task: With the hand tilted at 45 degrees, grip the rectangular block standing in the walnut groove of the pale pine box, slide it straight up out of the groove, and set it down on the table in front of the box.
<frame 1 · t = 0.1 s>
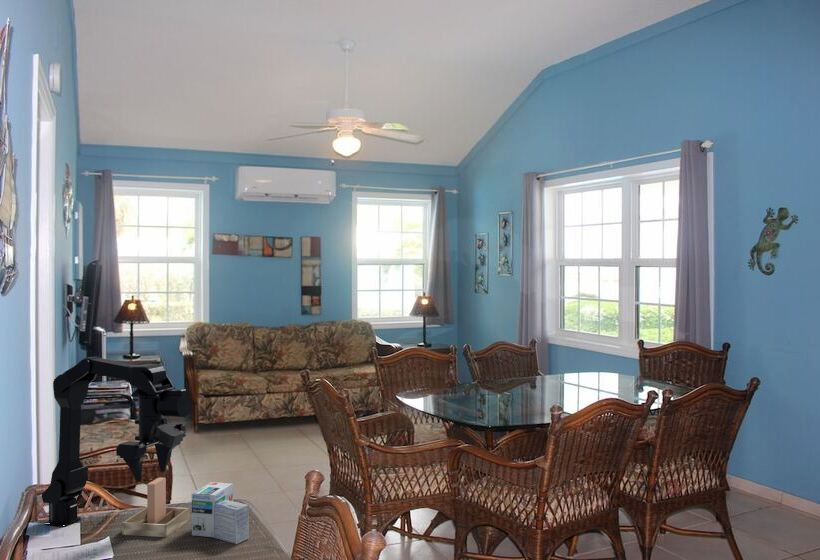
hand: (151, 476, 179), 15 cm above the table, tool pointing down, fingers open, 9 cm apart
slot box: (156, 526, 184), on the table
medicine box: (231, 539, 176), on the table
light bulb box: (213, 530, 183), on the table
rectangular block: (156, 526, 185), resting in slot box
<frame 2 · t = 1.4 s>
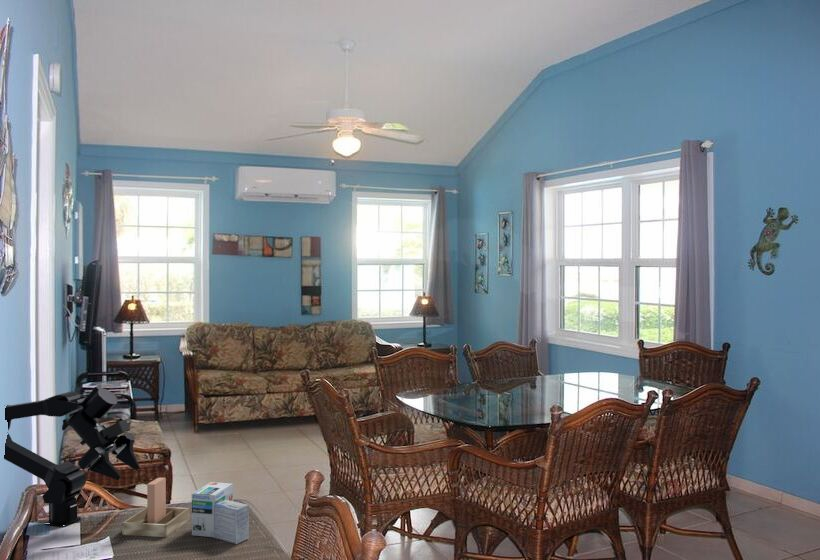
hand: (129, 473, 185), 14 cm above the table, tool tilted 45°, fingers open, 9 cm apart
nothing on the table moved.
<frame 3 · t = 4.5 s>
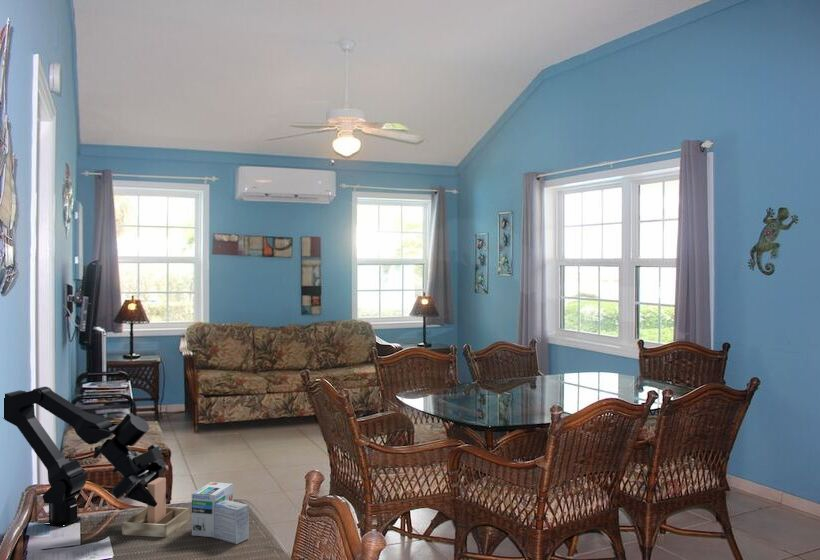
hand: (161, 501, 184), 7 cm above the table, tool tilted 45°, fingers closed on rectangular block, 6 cm apart
rectangular block: (156, 526, 184), resting in slot box, touching gripper
everything else where it was.
when the fingers open (8 cm above the table, at t = 9.4 s): rectangular block drops 1 cm, on the table.
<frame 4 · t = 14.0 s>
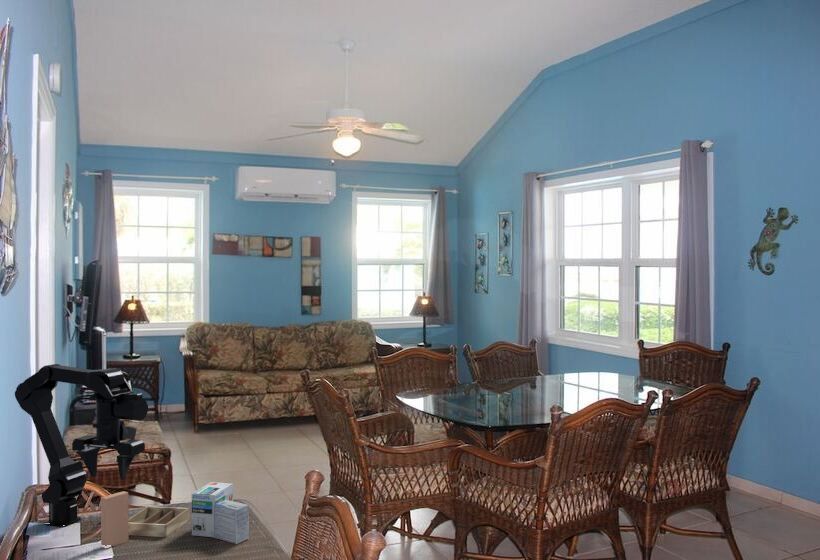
hand: (108, 478, 183), 13 cm above the table, tool pointing down, fingers open, 9 cm apart
rectangular block: (115, 544, 173), on the table
everything else where it was.
at the end: rectangular block inside the target area (0.0 cm from its centre), on the table; rectangular block touching table; the gripper is holding nothing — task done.
